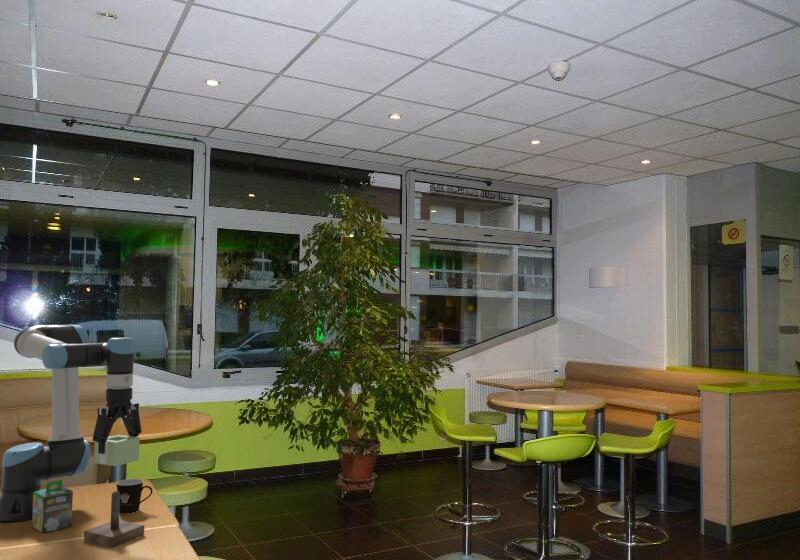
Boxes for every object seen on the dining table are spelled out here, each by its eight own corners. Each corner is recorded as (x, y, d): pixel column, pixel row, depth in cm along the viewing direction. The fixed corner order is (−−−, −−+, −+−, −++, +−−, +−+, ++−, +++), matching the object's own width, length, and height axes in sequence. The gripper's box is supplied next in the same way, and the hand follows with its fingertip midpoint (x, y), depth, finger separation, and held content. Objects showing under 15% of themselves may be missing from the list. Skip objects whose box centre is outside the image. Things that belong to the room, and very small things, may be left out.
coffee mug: (109, 512, 220) (110, 483, 220) (130, 505, 227) (131, 477, 228) (133, 517, 214) (134, 487, 215) (153, 510, 222) (154, 481, 222)
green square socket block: (94, 462, 194) (94, 439, 195) (118, 457, 202) (119, 434, 203) (114, 466, 190) (115, 442, 191) (138, 460, 198) (139, 437, 199)
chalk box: (61, 520, 211) (62, 475, 212) (72, 526, 205) (74, 480, 206) (30, 527, 204) (32, 480, 205) (41, 534, 198) (43, 485, 199)
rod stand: (83, 541, 192) (85, 493, 193) (116, 529, 203) (118, 484, 204) (111, 547, 187) (113, 498, 188) (144, 535, 198) (145, 488, 199)
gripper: (98, 391, 186) (95, 469, 185) (155, 384, 206) (153, 455, 204) (80, 390, 189) (77, 466, 188) (138, 383, 209) (136, 452, 208)
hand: (116, 460), depth 196 cm, fingers closed on green square socket block, 9 cm apart
